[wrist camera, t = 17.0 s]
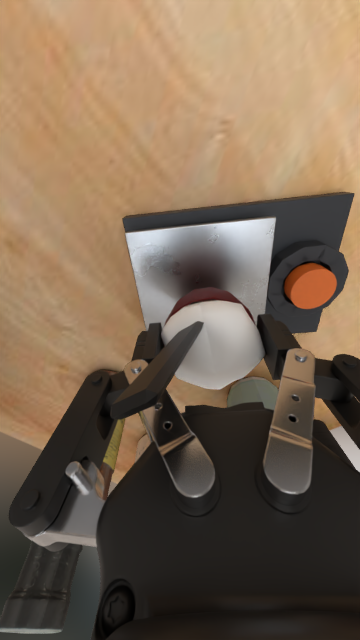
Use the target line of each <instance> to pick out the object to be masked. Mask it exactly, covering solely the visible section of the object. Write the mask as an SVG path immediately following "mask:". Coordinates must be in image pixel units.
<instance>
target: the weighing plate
mask: <svg viewBox="0 0 360 640" xmlns="http://www.w3.org/2000/svg"><path fill="white" fill-rule="evenodd" d="M275 223H276V217H274V216H268V217H258V218H249V219H239V220H230V221H221V222H211V223H202V224H192V225H183V226H173V227H164V228H154V229H145V230H135V231H127V232H126V233H125V237H126V241H127V246H128V250H129V255H130V259H131V264H132V268H133V273H134V277H135V282H136V286H137V291H138V295H139V300H140V304H141V309H142V313H143V318H144V322H145V327H146V331H148V328H149V324H150V323H158V322H161V326H162V329H163V328H164V325H165V322H166V320H167V318H168V316H169V314H170V313H171V311H172V309H173V307H174V306H175V304H176V303H177V301H178V300H179V299H180V298H182V297H183V296H185V295H186V294H188V293H190V292H191V291H193V290H194V289H201V288H207V287H214V288H218V289H221V290H225V291H228V292H230V293H231V294H232V295H234V296H235V297H236V298H237V299H238V300H239V301H240V302H242V303H243V304H244V305H245V306H246V307H247V308H248V309H249V311H250V312H251V314H252V316H253V319H254V322H255V325H257V316H258V314H265V307H266V299H267V290H268V282H269V273H270V265H271V257H272V248H273V240H274V231H275Z"/></svg>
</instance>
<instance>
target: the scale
mask: <svg viewBox="0 0 360 640" xmlns="http://www.w3.org/2000/svg"><path fill="white" fill-rule="evenodd" d="M353 197H354V193H348V192H339V193H330V194H321V195H312V196H303V197H293V198H284V199H275V200H266V201H257V202H248V203H239V204H230V205H220V206H211V207H202V208H193V209H184V210H175V211H166V212H157V213H147V214H138V215H129V216H125V217H124V218H123V224H124V228H125V233H126V232H127V231H135V230H145V229H154V228H164V227H173V226H183V225H192V224H202V223H211V222H221V221H230V220H239V219H249V218H258V217H268V216H274V217H276V223H275V231H274V240H273V248H272V257H271V265H270V273H269V282H268V290H267V299H266V307H265V314H271V315H272V317H273V318H274V320H275V321H278V320H279V321H281V322H282V323H284V324H285V325H286V326H287V327H288V329H289V331H290V332H291V333H305V332H316V331H317V328H318V324H319V320H320V317H321V313H322V310H323V308H325V307H327V306H328V305H329V304H330V303H331V302H332V301H333V300H334V299H335V298H336V297H337V296H338V295H339V294H340V293H341V291H342V290H343V288H344V285H345V281H346V278H347V275H348V271H349V270H348V267H347V264H346V261H345V258H344V255H343V254H342V253H340V252H339V248H340V244H341V241H342V237H343V233H344V230H345V226H346V223H347V219H348V215H349V212H350V208H351V204H352V201H353ZM306 263H317V264H320V265H321V266H323V267H324V268H326V269H328V270H329V271H331V272H332V273H333V274H334V275H335V277H336V280H337V286H336V290H335V292H334V294H333V295H332V297H331V298H330V299H329V300H328V301H327V302H325V303H324V304H322V305H321V306H318V307H316V308H312V309H302V308H299V307H297V306H295V305H294V304H293V302H292V301H291V300H290V299H289V298H288V297H287V295H286V294H285V291H284V283H285V280H286V278H287V276H288V275H289V274H290V272H291V271H292V270H294V269H295V268H296V267H298V266H300V265H302V264H306Z"/></svg>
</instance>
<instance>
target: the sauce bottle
mask: <svg viewBox="0 0 360 640" xmlns="http://www.w3.org/2000/svg"><path fill="white" fill-rule="evenodd" d="M101 371H106V370H101ZM106 372H108V373H109V375H113V374H116V373H117V372H113V371H106ZM124 423H125V418H124V419H122V420H120V419H118V422H117V424H116V427H115V430H114V432H113V435H112V438H111V441H110V443H109V446H108V449H107V451H106V454H105V457H104V460H103V462H102V465H101V468H100V470H99V471H100V473H101V475H102V476H103V478H104V483H105V484H104V491H103V500H106V499H107V496H108V491H109V486H110V482H111V477H112V474H113V473H114V469H115V464H116V460H117V455H118V451H119V446H120V441H121V437H122V432H123V427H124ZM81 551H82V545H80V544H72V543H69V544H68V545H67V546H66V547H65V548H63V549H61V550H59V551H55V552H53V551H49V550H48V549H46V548H45V547H43V546H40V545H38V544H36V543H35V542H33V541H32V542H31V545H30V549H29V552H28V555H27V558H26V560H25V563H24V566H23V567H22V570H21V573H20V575H19V578H18V581H17V584H16V586H15V588H14V591H13V592H12V593H11V595H10V596H9V597H8V599H7V600H6V603H5V606H4V609H3V612H2V615H1V618H0V632H12V633H13V632H14V633H39V634H43V633H57V632H60V631H62V629H63V626H64V622H65V619H66V615H67V611H68V607H69V603H70V596H71V594H70V588H71V585H72V580H73V577H74V573H75V568H76V565H77V561H78V557H79V554H80V552H81Z"/></svg>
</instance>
